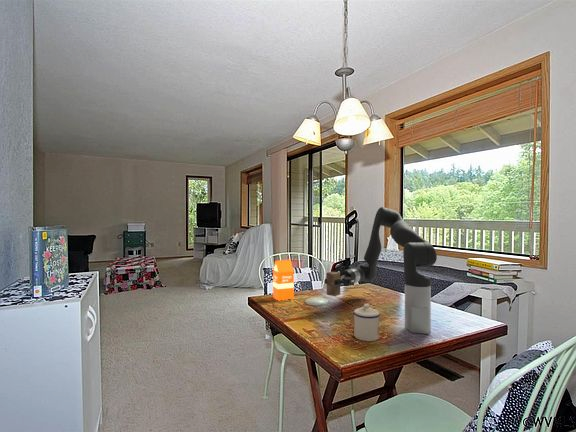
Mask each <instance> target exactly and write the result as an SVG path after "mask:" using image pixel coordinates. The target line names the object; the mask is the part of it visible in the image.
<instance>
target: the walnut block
mask: <svg viewBox="0 0 576 432" xmlns="http://www.w3.org/2000/svg"><path fill="white" fill-rule="evenodd" d="M325 274H326V277H327V284H326V295H327V296H332V297H337V296H339V295H340V296H341V285H340V284H339V285H334V280H338V279H340V271H329V272H328V271H327V272H326V273H325Z"/></svg>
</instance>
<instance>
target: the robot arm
mask: <svg viewBox="0 0 576 432" xmlns="http://www.w3.org/2000/svg"><path fill="white" fill-rule="evenodd" d="M382 226H383V227H385V228H389V229H390V230H389V234H390V237H391V238H392V240H393V241H394V242H395V243H396V245H399V246H400V247H402V248H403V250H402V251H403V252H402V257H403V276H404V277H403V278H404V329H405V330H407V331H409V332H410V333H412V334H413V333H414V334H425V335H429V334H430V332H432V326H431V325H432V324H431V322H432V321H431V316H432V311H431V310H432V305H431V304H432V303H431V301H432V297H431V296H432V292H431V290H432V289H431V287H432V282H431V281H432V279H431V278H430V277H429V276H427V275H423V274H422V273H419V272H418V271H417V268H419V267H421V268H425V267H426V268H427V267H431V266H433V265H435V264H436V262H437V257H438V256H437V255H438V254H437V252H436V248H435V247H434V246H433V245H432V243H430V242H429V241H428V240H426V239H424V238H423V237H422V236H421V235H420V234H419V233H418V232H416V231H415V230H414V229H413V228H412V227H411V226H410V225H409V224H408V222H406V221H405V220H404V219H403V217H402V216H401V214H400V212H398V211H397V210H395V209H392V208H387V207H384V206H381V207H379V208H378V209H377V211H376V214H375V216H374V221H373V225H372V227H371V234H370V238H369V241H368V242H369V243H368V244H367V248H366V251H365V254H364V256H363V260H364V262H366V263H367V264H365V263H359V264H357V266H355V267H353V268H348V269H344V270H341V271H339V273H340V279H338V280H334V285H339V284H340V286H341V285H342V286H343V287H347V286H351V285H354V284H357V283H359V282H362V281H363V280H365V281H367V282H372V281H374V279H375V278H376V275H377V265H378V260H379V258H380V255H381V252H382V243H381V237H380V229H381V227H382ZM324 284H325V285H327V277H326V278H325V279H324Z"/></svg>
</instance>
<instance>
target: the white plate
mask: <svg viewBox="0 0 576 432" xmlns="http://www.w3.org/2000/svg"><path fill="white" fill-rule="evenodd" d="M328 302H329V301H328V299H326V298H324V297H318V296H314V297H312V296H311V297H308V298H305V305H308V306H314V307H321V306H326V305H328Z"/></svg>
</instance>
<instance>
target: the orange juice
mask: <svg viewBox="0 0 576 432" xmlns="http://www.w3.org/2000/svg"><path fill="white" fill-rule="evenodd" d="M294 272H295V271H294V268H293V263H292V260H291V259H281V260H280V259H279V260H275V261H274V265H273V269H272V294H273V295H272V298H273V299H275V300H276V301H277V300H278V301H277V302H282V301H289V300H288V299H291V300H295V299H294V298H295V297H294V295H295V292H294V291H295V290H294V289H295V279H294V278H295V276H294V275H295V273H294ZM281 300H282V301H281Z"/></svg>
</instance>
